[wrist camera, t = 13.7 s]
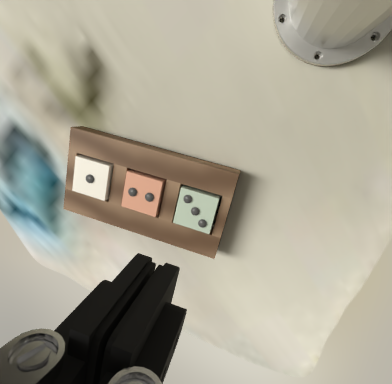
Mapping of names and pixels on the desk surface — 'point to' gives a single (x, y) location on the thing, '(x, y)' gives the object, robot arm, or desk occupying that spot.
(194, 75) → the desk surface
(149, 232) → the button board
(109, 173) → the button one dot
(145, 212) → the button two dots
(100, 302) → the robot arm
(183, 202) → the button three dots
